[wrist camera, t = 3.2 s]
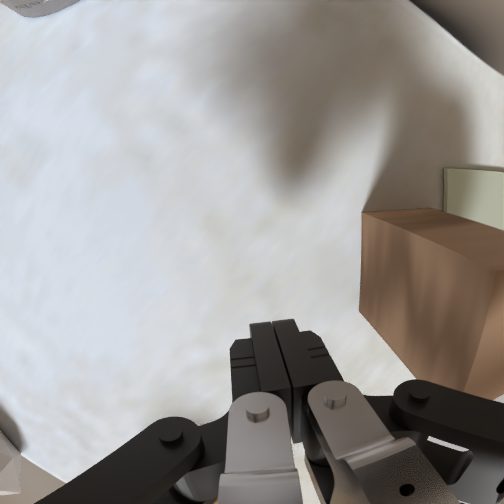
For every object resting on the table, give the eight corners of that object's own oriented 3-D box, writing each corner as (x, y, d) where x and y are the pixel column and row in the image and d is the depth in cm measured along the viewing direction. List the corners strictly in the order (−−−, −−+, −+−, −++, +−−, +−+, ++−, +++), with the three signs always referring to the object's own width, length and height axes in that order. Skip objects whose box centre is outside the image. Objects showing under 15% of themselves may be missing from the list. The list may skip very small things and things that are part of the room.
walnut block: (361, 212, 16) (495, 271, 7) (431, 208, 17) (562, 253, 7) (358, 310, 18) (450, 421, 8) (424, 298, 18) (525, 380, 9)
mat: (443, 168, 16) (447, 168, 16) (535, 175, 17) (539, 176, 16) (430, 327, 19) (433, 330, 19) (521, 297, 20) (524, 299, 19)
